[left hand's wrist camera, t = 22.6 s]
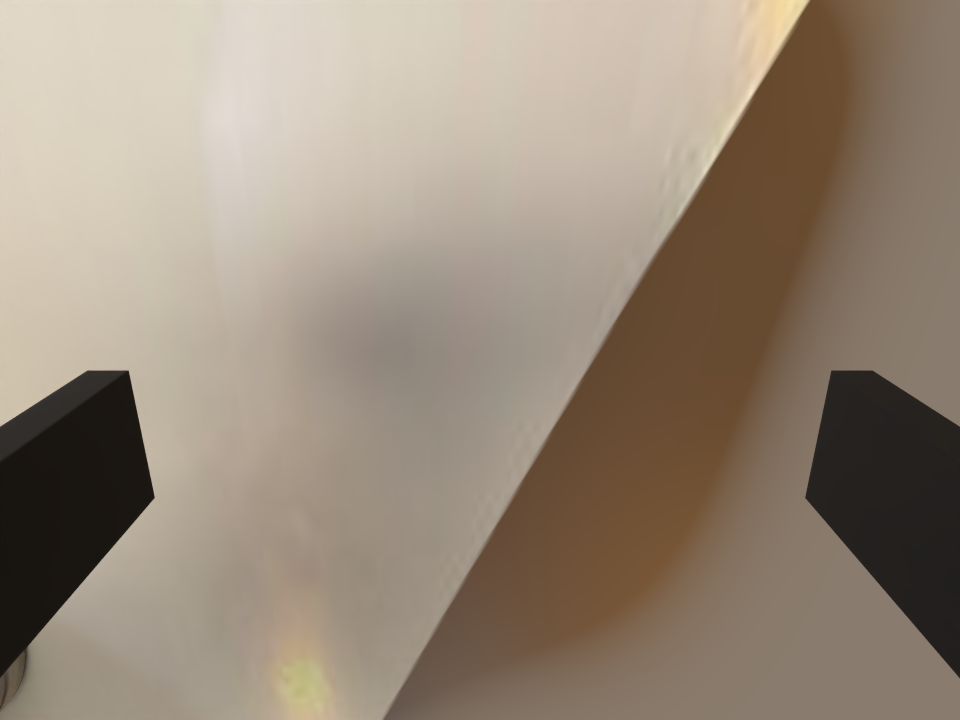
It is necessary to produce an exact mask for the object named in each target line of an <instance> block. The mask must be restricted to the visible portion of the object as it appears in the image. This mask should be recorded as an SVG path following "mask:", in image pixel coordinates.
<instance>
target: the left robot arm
mask: <svg viewBox="0 0 960 720" xmlns="http://www.w3.org/2000/svg"><path fill="white" fill-rule="evenodd" d="M154 498H155V497H154V492H153V487H152V482H151V477H150V472H149V468H148V463H147V458H146V453H145V448H144V443H143V438H142V433H141V429H140V424H139V419H138V414H137V409H136V404H135V399H134V395H133V390H132V385H131V380H130V375H129V371H86V372H85V373H83V374H82V375H80V376H78V377H77V378H75V379H74V380H72V381H71V382H69V383H68V384H66V385H64V386H63V387H61V388H60V389H58V390H57V391H55V392H54V393H52V394H50V395H49V396H47V397H46V398H44V399H43V400H41V401H40V402H38V403H36V404H35V405H33V406H32V407H30V408H29V409H27V410H26V411H24V412H22V413H21V414H19V415H18V416H16V417H15V418H13V419H12V420H10V421H8V422H7V423H5V424H4V425H2V426H1V427H0V712H1V710H2V709H3V708H4V707H5V705H6V704H7V703H8V702H9V700H10V699H11V698H12V696H13V695H14V694H15V692H16V690H17V689H18V687H19V685H20V682H21V680H22V676H23V672H24V665H25V653H24V650H25V649H26V647H27V646H28V645H29V644H30V643H31V642H32V640H33V639H34V638H35V637H36V636H37V635H38V633H39V632H40V631H41V630H42V629H43V628H44V626H45V625H46V624H47V623H48V622H49V621H50V619H51V618H52V617H53V616H54V615H55V614H56V612H57V611H58V610H59V609H60V608H61V607H62V605H63V604H64V603H65V602H66V601H67V600H68V598H69V597H70V596H71V595H72V594H73V593H74V591H75V590H76V589H77V588H78V587H79V586H80V584H81V583H82V582H83V581H84V580H85V579H86V577H87V576H88V575H89V574H90V573H91V572H92V570H93V569H94V568H95V567H96V566H97V565H98V563H99V562H100V561H101V560H102V559H103V558H104V556H105V555H106V554H107V553H108V552H109V551H110V549H111V548H112V547H113V546H114V545H115V544H116V542H117V541H118V540H119V539H120V538H121V537H122V535H123V534H124V533H125V532H126V531H127V530H128V528H129V527H130V526H131V525H132V524H133V523H134V521H135V520H136V519H137V518H138V517H139V516H140V514H141V513H142V512H143V511H144V510H145V509H146V507H147V506H148V505H149V504H150V503H151V502H152V500H153V499H154ZM805 498H806V499H807V500H808V502H809V503H810V504H811V505H812V506H813V507H814V509H815V510H816V511H817V512H818V513H819V514H820V516H821V517H822V518H823V519H824V520H825V521H826V522H827V524H828V525H829V526H830V527H831V528H832V530H833V531H834V532H835V533H836V534H837V535H838V536H839V538H840V539H841V540H842V541H843V542H844V544H845V545H846V546H847V547H848V548H849V549H850V551H851V552H852V553H853V554H854V555H855V556H856V558H857V559H858V560H859V561H860V562H861V563H862V565H863V566H864V567H865V568H866V569H867V570H868V572H869V573H870V574H871V575H872V576H873V577H874V579H875V580H876V581H877V582H878V583H879V584H880V586H881V587H882V588H883V589H884V590H885V591H886V593H887V594H888V595H889V596H890V597H891V598H892V600H893V601H894V602H895V603H896V604H897V605H898V607H899V608H900V609H901V610H902V611H903V612H904V614H905V615H906V616H907V617H908V618H909V619H910V621H911V622H912V623H913V624H914V625H915V626H916V628H917V629H918V630H919V631H920V632H921V633H922V634H923V636H924V637H925V638H926V639H927V640H928V641H929V643H930V644H931V645H932V646H933V647H934V649H935V650H936V651H937V652H938V653H939V654H940V656H941V657H942V658H943V659H944V660H945V661H946V662H947V664H948V665H949V666H950V667H951V668H952V669H953V671H954V672H955V673H956V674H957V675H958V677H959V678H960V427H959V426H958V425H956V424H955V423H953V422H952V421H950V420H948V419H947V418H945V417H944V416H942V415H941V414H939V413H937V412H936V411H934V410H933V409H931V408H930V407H928V406H927V405H925V404H924V403H922V402H920V401H919V400H917V399H916V398H914V397H913V396H911V395H910V394H908V393H906V392H905V391H903V390H902V389H900V388H899V387H897V386H896V385H894V384H892V383H891V382H889V381H888V380H886V379H885V378H883V377H882V376H880V375H878V374H877V373H875V372H874V371H831V375H830V380H829V385H828V390H827V395H826V400H825V404H824V409H823V414H822V419H821V424H820V429H819V434H818V439H817V443H816V448H815V453H814V458H813V463H812V468H811V472H810V477H809V482H808V487H807V492H806V497H805Z"/></svg>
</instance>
